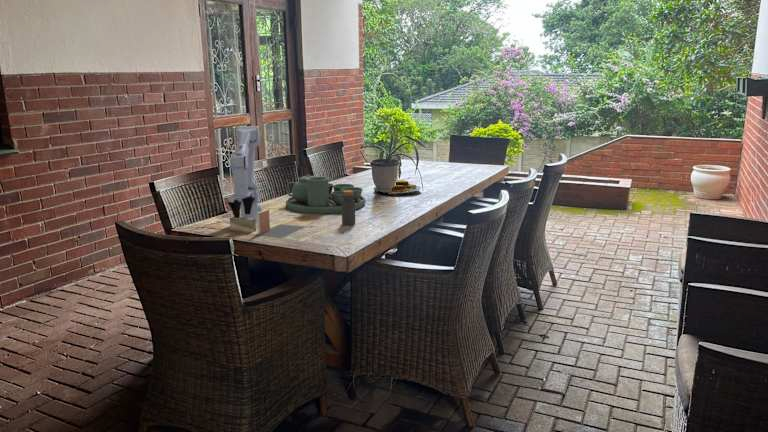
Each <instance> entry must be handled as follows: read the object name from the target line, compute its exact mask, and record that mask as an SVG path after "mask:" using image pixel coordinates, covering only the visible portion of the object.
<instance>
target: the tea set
mask: <svg viewBox="0 0 768 432" xmlns="http://www.w3.org/2000/svg"><path fill="white" fill-rule="evenodd" d="M329 180H330V177H328V176H324V175H322V176H320V175H319V176H316V175H311V174H307V175H304V176H300V177H299V179H298V181H289V182H288V183H287V184H286V185H285V192H286V194H287V195H288V196H290V197H288V198H287V200H286V201H285V206H286V208H288V209H289V210H291V211H293V212H297V213H298V212H299V213H304V214H321V215H322V214H327V215H328V214H340V213H342V200H344V198H343V197H342V195H343V191H344V190H352V191H353V195H354V197H353V200H355V211H356V210H360V209H361V208H362V207H364V206H365V205H366V198H365V197H363V196H362V192H363V190H364V188H362V187H357V186H355V185H354V184H351V183H336V184H333V183H329ZM291 184H292V187H291V193H290V191H289V189H288V188H289V185H291ZM333 190H334V191H333Z"/></svg>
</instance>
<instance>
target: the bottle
mask: <svg viewBox="0 0 768 432" xmlns="http://www.w3.org/2000/svg"><path fill="white" fill-rule="evenodd" d="M342 197H343V198H344V200H342V212H341V223H342V226H347V227H351V226H355V225H356V210H355V200H353V197H354V195H353V191H352V190H344V191H343V195H342Z"/></svg>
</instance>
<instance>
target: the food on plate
mask: <svg viewBox="0 0 768 432" xmlns="http://www.w3.org/2000/svg"><path fill="white" fill-rule="evenodd" d="M396 180H397V182H396V185H395V186H393V188H392V191H391V193H388V194H387V195H392V196H393V195H402V194H410V193H411V194H413V193H415V192H418V191H420V190H421V188H422V187H421V186H419V185H416V184H412V183H411V184H410V183H409V181H408V180H404V179H396ZM382 194H385V193H384V192H383V193H382Z"/></svg>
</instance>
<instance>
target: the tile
mask: <svg viewBox="0 0 768 432" xmlns="http://www.w3.org/2000/svg"><path fill="white" fill-rule="evenodd" d="M270 223H271V221H270V209H263V210H261V212H258V213H257V223H256V224H257V234H263V233H265V232H268V231H270V228H271V224H270Z"/></svg>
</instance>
